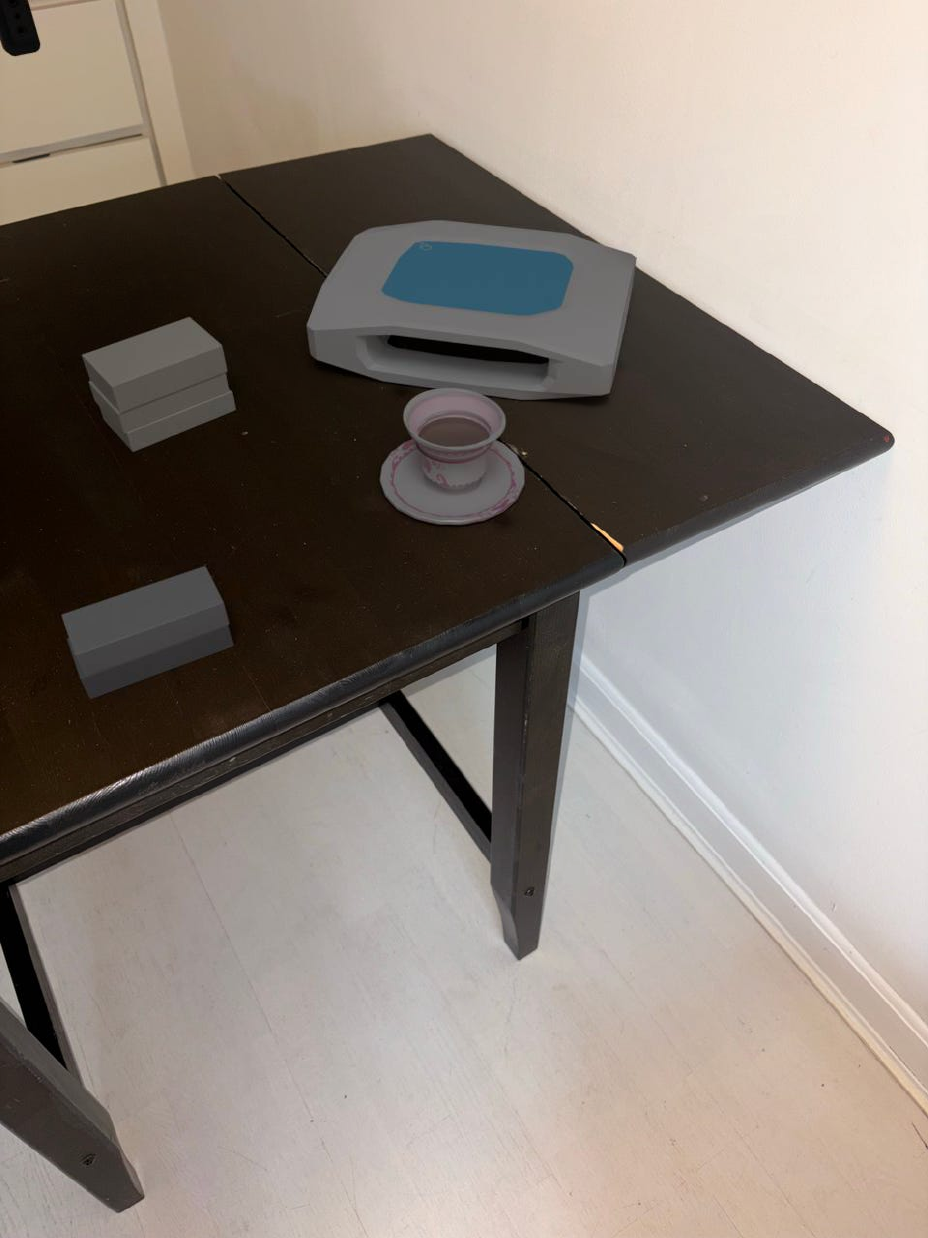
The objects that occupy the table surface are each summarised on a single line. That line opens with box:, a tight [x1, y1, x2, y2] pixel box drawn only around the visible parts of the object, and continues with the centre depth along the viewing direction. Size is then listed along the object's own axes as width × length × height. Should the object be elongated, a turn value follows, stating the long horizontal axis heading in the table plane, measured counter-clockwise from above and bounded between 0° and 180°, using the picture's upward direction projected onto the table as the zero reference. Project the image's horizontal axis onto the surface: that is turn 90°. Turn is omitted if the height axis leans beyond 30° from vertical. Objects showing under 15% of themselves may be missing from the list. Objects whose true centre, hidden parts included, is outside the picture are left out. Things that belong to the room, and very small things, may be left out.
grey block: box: [88, 372, 237, 453], centre depth 84 cm, size 10×6×4 cm, turn 128°
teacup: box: [379, 388, 525, 526], centre depth 77 cm, size 12×12×6 cm
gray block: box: [61, 565, 235, 700], centre depth 64 cm, size 10×4×4 cm, turn 118°
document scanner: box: [306, 219, 638, 401], centre depth 92 cm, size 21×28×6 cm
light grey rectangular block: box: [81, 316, 229, 413], centre depth 81 cm, size 10×6×3 cm, turn 128°
